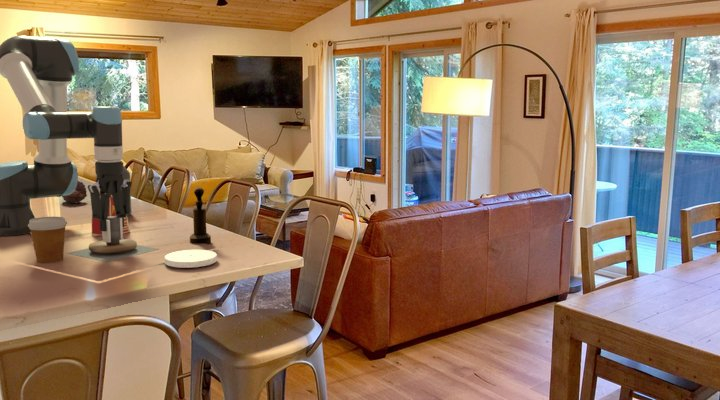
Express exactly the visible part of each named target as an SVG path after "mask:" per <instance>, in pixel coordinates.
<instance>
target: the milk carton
mask: <svg viewBox="0 0 720 400" xmlns="http://www.w3.org/2000/svg"><path fill="white" fill-rule="evenodd" d="M96 179H97V178H95V181H96ZM99 189H100V188H99ZM98 191H99V194H100V190H98ZM105 194H106V193H105ZM126 215H127V214H126ZM110 216H116V212H115V207H114V202H113V198H112V195H111V197H110V198H109V208H108V217H110ZM129 232H131V229H130V225H129V219H128V216H126V217H125V218H124V227H123V234H125V233H129ZM91 236H93V237H98V236H102V231H100V221H99V219H95V218H93V215H92V214H91Z"/></svg>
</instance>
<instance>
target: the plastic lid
mask: <svg viewBox="0 0 720 400" xmlns="http://www.w3.org/2000/svg"><path fill="white" fill-rule="evenodd" d="M163 259H164V264H165V265H167V266H168V267H172V268H179V269H180V268H184V269H185V268H199V267H206V266H210V265H212V264H214V263H216V262H217V261H218V254H217V253H216V252H215V251H212V250H208V249H207V250H206V249H183V250H176V251H173V252H170V253H167V254H166V255H165V256H164V258H163Z"/></svg>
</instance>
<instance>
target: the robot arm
mask: <svg viewBox="0 0 720 400" xmlns="http://www.w3.org/2000/svg"><path fill="white" fill-rule="evenodd" d="M79 70H80V61H79V56H78V52H77V49H76V47H75V46H74V43H72V42H71V41H70V40H68V39H64V38H57V37H48V36H47V37H46V36H45V37H43V36H30V35H29V36H27V35H14V36H11V37H9V38H7V39H6V40H4V41H3V42H2V43H1V44H0V75H1V76H2V78H4V79H6V80H7V82H8V84H9V86H10V87H11V90H12V91H13V93H14V95H15V97H16V99H17V101H18V103H19V104H20V106H21V108H22V110H23V112H24V114H23V117H22V129H23V133H24V135H25V137H26V138H27V139H29V140H38V154H37V155H36V156H34V157H33V164H29V163H28V162H27V161H26V160H16V161H15V160H14V161H12V160H11V161H5V162H0V237H5V236H6V237H10V236H18V235H19V236H20V235H26V234H31V231H30V229H29V227H28V224H29V221H30V220H31V219H34V218H36V217H35V215H34V213H33V211H32V208H31V200H34V199H43V198H44V199H45V198H55V197H57V198H60V197H62V196H65V195H70V194H72V193H73V191H74V190H75V189H76V186H77V182H78V181H79V172H78V167H77V165H76V163H74V162H73V161H72V158H71V157H70V156H69V155H68V154H67V153H68V151H67V145H68V144H67V143H68V142H67V141H68V139H93V150H94V152H93V153H94V160H96V162H94V166H95V167H94V168H95V171H94V172H95V175H96V178H95V179H96V180H95V182H94V183H93V184H88V185H87V189H88V191H89V194H90V204H91V216H92V215H93V218H95V219H99V221H100V231H102V235H101V237H102V240H101V241H103V242H108V243H109V242H111V233H110V220H107V217H108V208H109V198H110V197H111V195H112V198H113V202H114V207H115V212H116V216H117V217H119V240H123V239H124V233H123V227H124V218H125V217H126V216H127V215H126V214H129V213H130V188H131V187H132V184H133V183H132V181H131V180H130V181H126V180H124V178H123V176H122V174H123V173H124V167H125V166H124V161H122V160H123V159H124V154H123V153H124V151H123V150H124V149H123V148H124V147H123V123H122V122H123V118H122V111H121V109H120V107H118V106H109V105H108V106H102V105H100V106H97V105H96V106H93V108H92V111H83V112H82V111H79V112H77V111H76V112H69V111H68V86H69V84H71V83H72V81H73V77H74V76H77V75H78V73H79ZM123 166H124V167H123ZM121 186H122V187H121ZM99 188H100V189H99ZM98 190H100V194H99V191H98ZM105 193H106V194H105ZM127 217H128V216H127Z"/></svg>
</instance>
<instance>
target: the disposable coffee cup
mask: <svg viewBox="0 0 720 400" xmlns="http://www.w3.org/2000/svg"><path fill="white" fill-rule="evenodd" d="M67 224H68V222H67V221H66V218H65V217H63V216H41V217H35V218H34V219H31V220H30V221H29V224H28V227H29V229H30V231H31V233H30V235H31V239H32V245H33V249H34V254H35V258H36V262H37V263H39V264H40V263H41V264H53V263H58V262H61V261H63V260H64V250H65V237H66V235H65V234H66V227H67Z"/></svg>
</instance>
